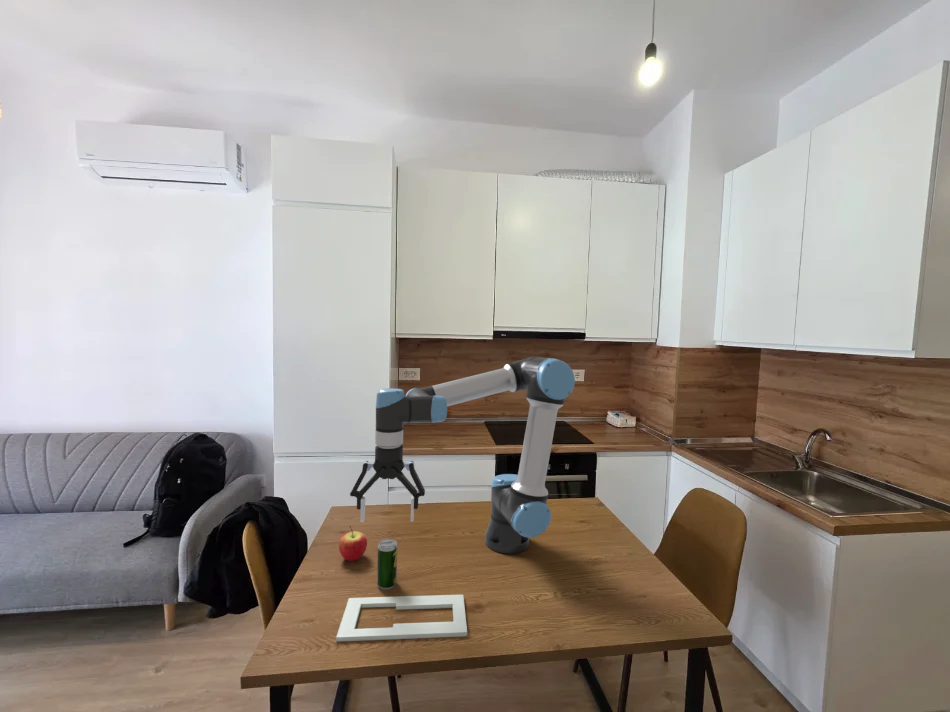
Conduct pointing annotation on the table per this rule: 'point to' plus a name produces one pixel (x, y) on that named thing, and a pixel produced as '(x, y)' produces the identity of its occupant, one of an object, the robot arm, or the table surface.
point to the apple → (352, 545)
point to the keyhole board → (404, 629)
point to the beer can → (387, 564)
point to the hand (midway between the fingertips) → (387, 520)
